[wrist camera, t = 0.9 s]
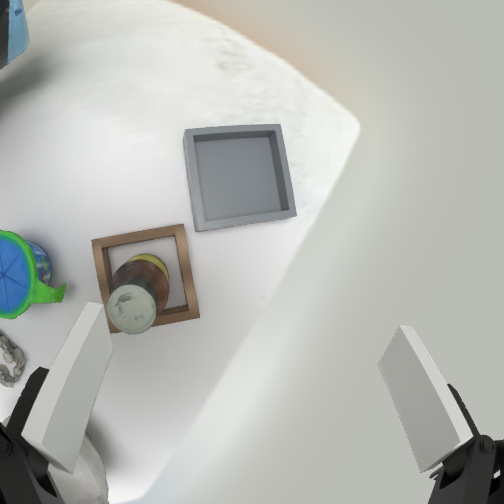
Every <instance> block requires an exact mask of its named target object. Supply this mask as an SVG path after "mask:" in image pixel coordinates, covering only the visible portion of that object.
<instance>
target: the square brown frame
mask: <svg viewBox="0 0 504 504" xmlns="http://www.w3.org/2000/svg"><path fill="white" fill-rule="evenodd" d="M170 236H175V240H176V246H177V252H178V258H179V264H180V270H181V275H182V281H183V286H184V291H185V296H186V301H187V305H183V306H178V307H173V308H167V309H163V310H162V311H161V313H160V314H159V315H158V316H156V318H155V321H154V323H153V324H152V326H151V327H153V326H159V325H164V324H170V323H175V322H180V321H185V320H191V319H196V318H200V314H199V309H198V304H197V299H196V294H195V289H194V283H193V278H192V272H191V267H190V261H189V255H188V249H187V243H186V237H185V230H184V224H179V225H173V226H167V227H161V228H155V229H149V230H143V231H138V232H132V233H126V234H121V235H115V236H110V237H105V238H100V239H94V240H91V241H92V247H93V254H94V260H95V266H96V271H97V277H98V282H99V287H100V291H101V296H102V301H103V304H104V309H105V314H106V318H107V322H108V326H109V329H110V333H111V334H112V333H118V332H122V331H120V330H119V329H118V328H116V327H115V326H114V325H113V324H112V322H111V320H110V319H109V317H108V313H107V301H108V298H109V296H110V294H111V293H110V285H111V280H112V273H111V268H110V262H109V256H108V250H107V248H108V247H113V246H119V245H124V244H130V243H135V242H141V241H146V240H152V239H158V238H164V237H170Z"/></svg>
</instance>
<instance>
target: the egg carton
mask: <svg viewBox="0 0 504 504" xmlns="http://www.w3.org/2000/svg"><path fill="white" fill-rule="evenodd" d="M0 347H1V348H3V350H4V351H5V352H4V354H3V356H4V359H5V360H6V362H7V363H12V362H13V361H15V363H17V365H16V366H15V367H14V369H13V373H14V376H15V377H14V378H12V377H11V376H10V375H9V370H8V368H7V367H6V366H4V365H0V383H1V384H2V385H4V386H6V387H14V383H15V382H16V381H17V380H18V379H19V378H20V376H21V371H22V370H20V368H21V367H22V366H23V365H24V364H25V362H26V359H25V358H24V356H23V354H22V350H21V349H20V348H19V347H18V348H16V349H13V348H11V347H10V345H9V343H8V338H7V337H5V336H1V337H0Z"/></svg>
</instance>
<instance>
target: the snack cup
mask: <svg viewBox="0 0 504 504" xmlns="http://www.w3.org/2000/svg"><path fill="white" fill-rule="evenodd" d="M50 277H51V266H50V261H49V259H48V257H47V254H46V252H45V251H44V250H42V249H41V248H40V247H39V246H37V245H35V244H33V243H31V242H29V241H26V240H24V239H23V238H22V237H20V236H19V235H18V234H16V233H13V232H10V231H2V230H0V317H1V318H8V319H15V318H16V317H17V316H19V315H21V314H22V313H24V312H25V311H26V310H27V309H28V308H29V307H30V305H31V304H32V303H53V302H62V299H63V296H64V292H65V288H66V283H64V284H63V285H62V286H61V287H60V288H58V289H55V288H53V287H50V286H47V285H48V283H49V281H50Z"/></svg>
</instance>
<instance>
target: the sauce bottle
mask: <svg viewBox="0 0 504 504" xmlns="http://www.w3.org/2000/svg"><path fill="white" fill-rule="evenodd" d="M110 293H111V294H110V296H109V298H108V301H107V313H108V317H109V319H110V320H111V322H112V324H113V325H114V326H115V327H116V328H118V329H119V330H120V331H122V332H125V333H127V334H139V333H142V332H144V331H146V330H148V329H149V328H150V327H151V326H152V324H153V323H154V321H155V318H156V316H158V315H159V314H160V313H161V311H162V310H163V309H164V307H165V305H166V303H167V299H168V294H169V279H168V272H167V268H166V266H165V264H164V263H163V262H162V261H161V260H160V259H159V258H157V257H156V256H154V255H150V254H139V255H137V256H135V257H133V258H131V259H130V260H128V261H127V262H126V263H125V264H123V265H122V266H121V267H120V268H119V269H118V270H117V271H116V272H115V274H114V276H113V278H112V280H111V285H110Z"/></svg>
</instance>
